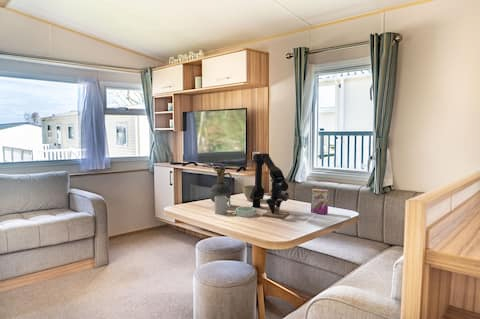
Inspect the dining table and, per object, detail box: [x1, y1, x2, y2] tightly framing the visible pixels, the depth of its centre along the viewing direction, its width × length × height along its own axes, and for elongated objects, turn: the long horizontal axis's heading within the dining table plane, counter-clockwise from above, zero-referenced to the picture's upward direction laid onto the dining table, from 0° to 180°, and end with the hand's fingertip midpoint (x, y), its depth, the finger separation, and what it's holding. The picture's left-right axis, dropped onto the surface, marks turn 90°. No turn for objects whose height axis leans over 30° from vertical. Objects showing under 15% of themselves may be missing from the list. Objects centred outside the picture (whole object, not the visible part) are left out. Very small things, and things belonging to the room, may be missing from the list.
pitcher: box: [209, 165, 233, 204], centre depth 256 cm, size 11×19×30 cm, turn 136°
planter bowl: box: [242, 184, 255, 202], centre depth 277 cm, size 16×16×11 cm
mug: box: [214, 196, 232, 215], centre depth 236 cm, size 12×8×11 cm
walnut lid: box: [261, 206, 290, 220], centre depth 228 cm, size 14×14×5 cm
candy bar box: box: [310, 188, 329, 215], centre depth 236 cm, size 11×5×16 cm, turn 71°
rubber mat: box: [260, 213, 291, 220], centre depth 229 cm, size 16×16×1 cm
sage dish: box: [235, 206, 257, 218], centre depth 230 cm, size 13×13×4 cm
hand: (275, 212), depth 228 cm, fingers open, 9 cm apart
